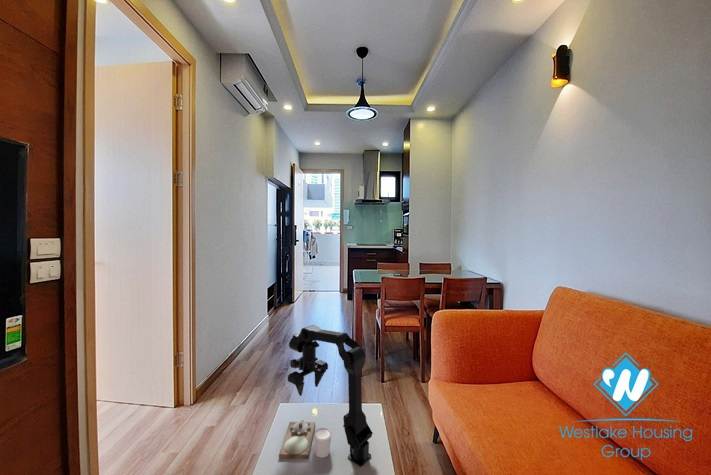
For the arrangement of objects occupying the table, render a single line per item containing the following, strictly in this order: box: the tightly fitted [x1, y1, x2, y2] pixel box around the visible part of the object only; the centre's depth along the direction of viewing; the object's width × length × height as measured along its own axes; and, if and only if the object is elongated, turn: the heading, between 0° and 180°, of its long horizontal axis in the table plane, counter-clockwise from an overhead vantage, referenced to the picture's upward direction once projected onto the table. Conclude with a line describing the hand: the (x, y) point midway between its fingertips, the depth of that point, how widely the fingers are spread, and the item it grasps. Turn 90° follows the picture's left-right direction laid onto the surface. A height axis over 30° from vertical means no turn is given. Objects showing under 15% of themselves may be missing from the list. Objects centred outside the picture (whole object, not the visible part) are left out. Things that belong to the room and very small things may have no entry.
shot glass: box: [313, 427, 333, 459], centre depth 109 cm, size 7×7×7 cm
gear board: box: [278, 419, 316, 460], centre depth 114 cm, size 11×18×4 cm, turn 0°
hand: (308, 390), depth 124 cm, fingers open, 9 cm apart
